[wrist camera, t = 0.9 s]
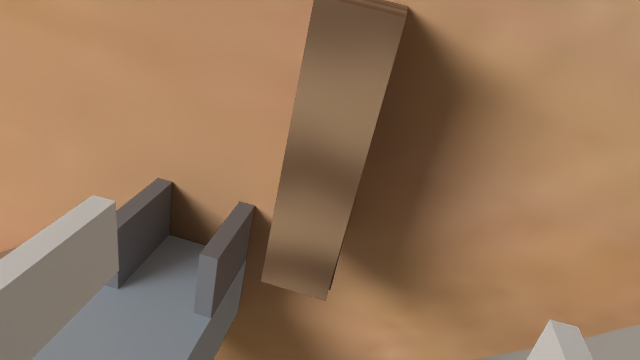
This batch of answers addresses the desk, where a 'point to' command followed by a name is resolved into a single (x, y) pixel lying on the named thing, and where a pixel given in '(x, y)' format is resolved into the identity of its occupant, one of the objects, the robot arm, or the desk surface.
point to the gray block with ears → (160, 289)
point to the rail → (330, 138)
